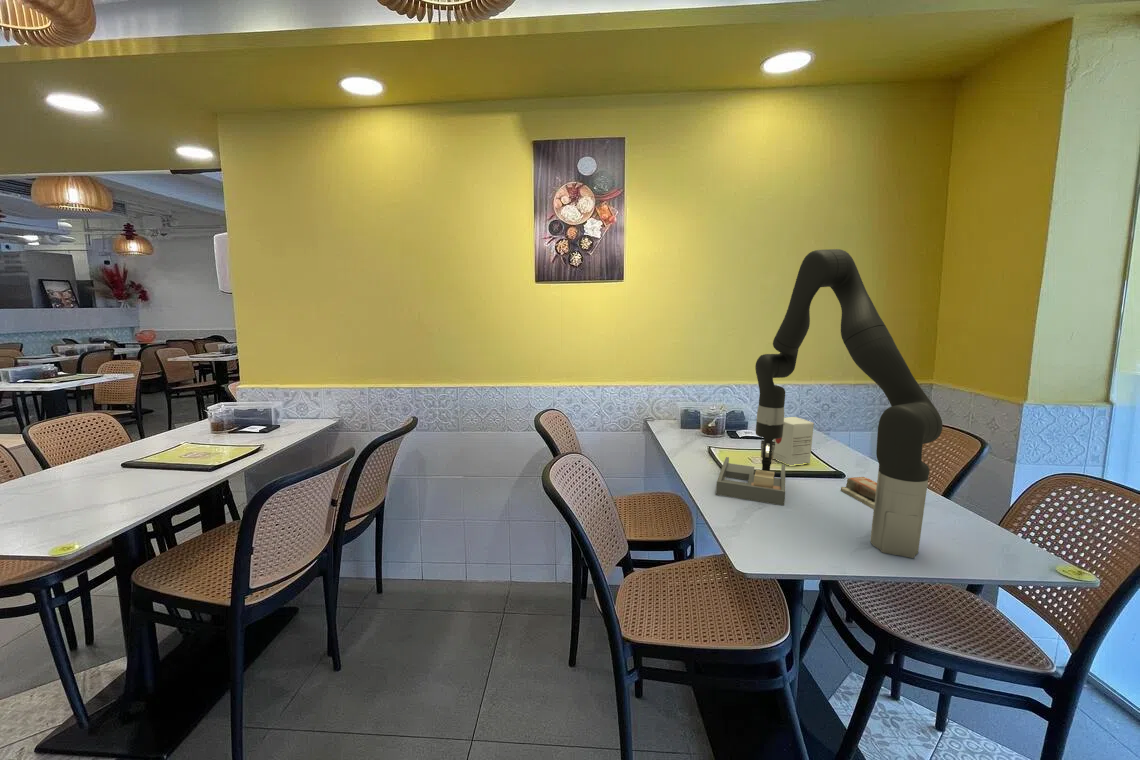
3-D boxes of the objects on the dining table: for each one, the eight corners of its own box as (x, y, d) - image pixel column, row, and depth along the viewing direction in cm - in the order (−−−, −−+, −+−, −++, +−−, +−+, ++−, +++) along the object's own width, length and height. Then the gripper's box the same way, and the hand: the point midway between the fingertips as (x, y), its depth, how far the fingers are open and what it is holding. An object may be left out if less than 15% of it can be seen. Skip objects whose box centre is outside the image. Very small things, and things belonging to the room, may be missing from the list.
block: (772, 492, 137) (773, 478, 136) (753, 489, 139) (754, 475, 138) (773, 485, 142) (774, 472, 142) (755, 482, 144) (756, 469, 144)
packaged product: (840, 476, 144) (870, 474, 145) (838, 491, 144) (868, 490, 146) (889, 500, 126) (922, 498, 128) (886, 518, 127) (920, 516, 128)
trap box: (784, 505, 133) (785, 491, 132) (715, 494, 140) (716, 481, 139) (784, 476, 155) (785, 464, 154) (725, 468, 162) (725, 457, 161)
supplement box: (770, 459, 172) (774, 417, 170) (791, 456, 175) (795, 416, 172) (789, 467, 164) (793, 424, 161) (810, 464, 166) (814, 422, 164)
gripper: (757, 414, 152) (753, 467, 155) (755, 424, 140) (751, 481, 143) (783, 417, 149) (778, 470, 152) (784, 427, 137) (778, 485, 140)
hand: (765, 475), depth 148 cm, fingers closed
